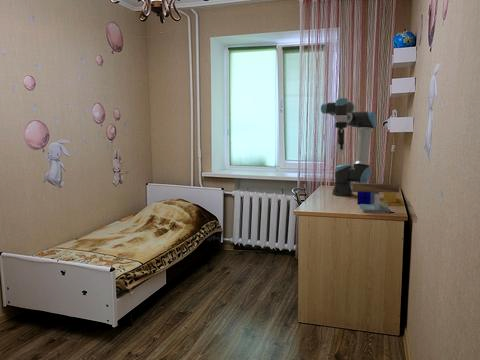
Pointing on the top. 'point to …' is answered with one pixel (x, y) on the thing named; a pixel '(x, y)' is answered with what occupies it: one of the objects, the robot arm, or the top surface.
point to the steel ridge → (375, 200)
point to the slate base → (370, 209)
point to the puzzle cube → (363, 198)
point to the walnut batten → (374, 187)
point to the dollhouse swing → (391, 199)
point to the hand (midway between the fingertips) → (340, 153)
